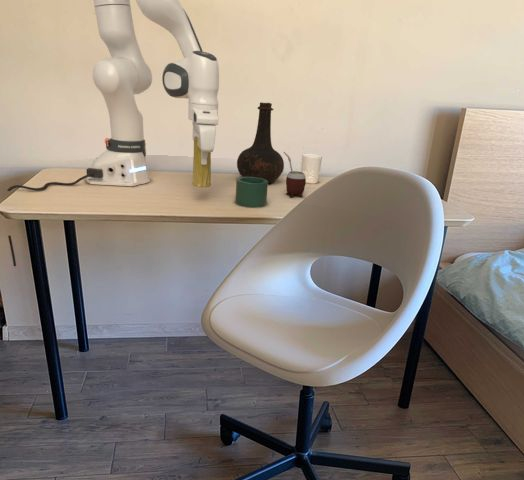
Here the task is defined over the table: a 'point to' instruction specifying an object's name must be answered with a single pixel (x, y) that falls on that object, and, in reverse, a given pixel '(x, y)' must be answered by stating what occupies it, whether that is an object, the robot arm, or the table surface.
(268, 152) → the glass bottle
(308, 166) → the white cup
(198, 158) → the vase
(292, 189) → the mate gourd
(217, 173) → the table surface
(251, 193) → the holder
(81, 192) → the table surface
